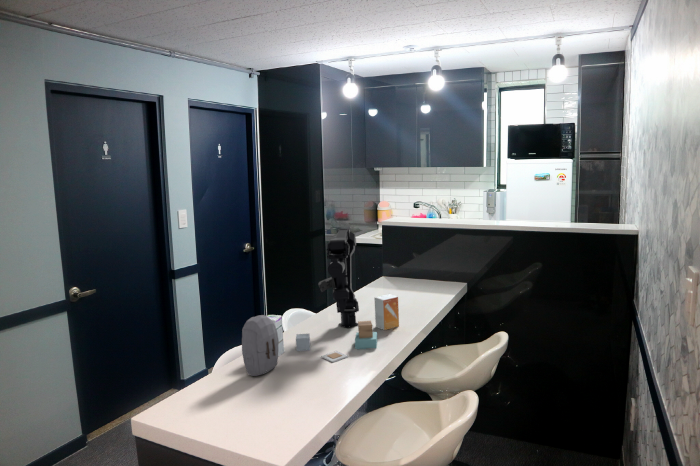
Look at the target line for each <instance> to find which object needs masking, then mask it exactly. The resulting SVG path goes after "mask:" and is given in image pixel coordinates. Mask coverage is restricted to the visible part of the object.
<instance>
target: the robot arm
mask: <svg viewBox="0 0 700 466" xmlns="http://www.w3.org/2000/svg"><path fill="white" fill-rule="evenodd" d="M336 231H337V233H336V234H335V237H334V238H330V240H329V242H328V243H327V250H326V251H327V252H326V253H327V255H326V259H327V260H330V264H329V265H328V268H327V272H328V274H329V276H330V277H328V278H325V279H323V280H320V281H319V282H318V284H317V285H318V287H319V289H320V292H321V293H323V292H325V291H326V290H329V289H331V290H332V299H333V300H334V301H335V302H336V304H335V305H336V311H337V313H338V314H340V323H338V324H337V325H338V326H340V327H343V328H347V329H349V328H352V327H354V326H358V322H357V320H356V319H357V317H356V313H357V312H359V311H360V308H359V307H360V306H359V301H358V300H357V298H356V295H355V293H354V291H353V288H352V256H353V254H354V253H355V251H356V246H357V238H356V234H355V233H354V232H352V231H351V230H350V228H346V227H345V228H339V229H337V230H336Z"/></svg>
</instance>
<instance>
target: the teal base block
mask: <svg viewBox="0 0 700 466" xmlns="http://www.w3.org/2000/svg"><path fill="white" fill-rule="evenodd" d="M377 347H378V332H377V331H373V337H372V338H359V331H358V332H355V338H354V348H355V350H367V349H366V348H377Z"/></svg>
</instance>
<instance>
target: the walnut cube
mask: <svg viewBox="0 0 700 466" xmlns="http://www.w3.org/2000/svg"><path fill="white" fill-rule="evenodd" d="M357 323H358V325H357V327H358V330H357V331H358V332H359V338H372V337H373V332H374V331H373V322H372V320H361V321H360V320H359V321H357Z"/></svg>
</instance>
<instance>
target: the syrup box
mask: <svg viewBox="0 0 700 466" xmlns="http://www.w3.org/2000/svg"><path fill="white" fill-rule="evenodd" d="M266 316H267V317H268V318H270V319H271V320H272V321H273V322H274V324H275V327H276V330H277V334H278V340H279V342H278V358H279V357H280V356H282V354H283V353H285V344H284V331H283V319H282V315H278V314H277V315H276V314H267V315H266Z"/></svg>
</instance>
